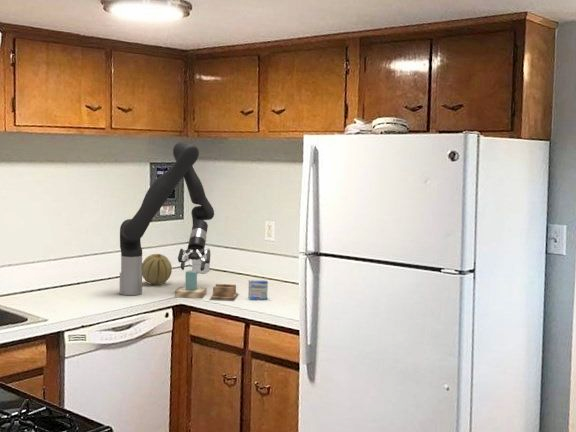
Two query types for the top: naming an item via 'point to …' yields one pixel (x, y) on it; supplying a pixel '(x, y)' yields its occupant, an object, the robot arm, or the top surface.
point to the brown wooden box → (224, 292)
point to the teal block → (191, 280)
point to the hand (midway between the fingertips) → (192, 269)
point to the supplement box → (197, 264)
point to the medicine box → (258, 289)
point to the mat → (224, 300)
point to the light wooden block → (190, 293)
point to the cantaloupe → (156, 269)
